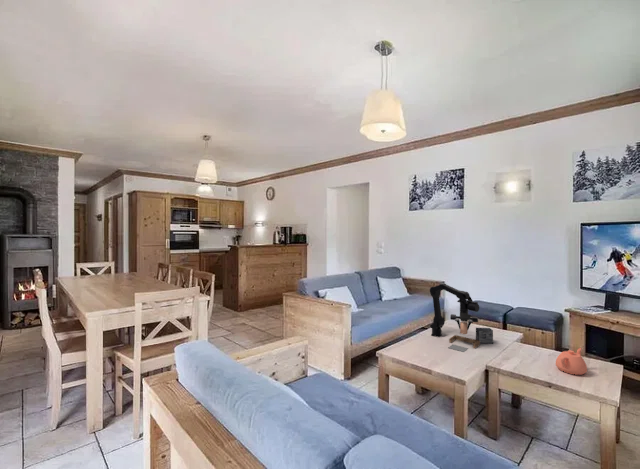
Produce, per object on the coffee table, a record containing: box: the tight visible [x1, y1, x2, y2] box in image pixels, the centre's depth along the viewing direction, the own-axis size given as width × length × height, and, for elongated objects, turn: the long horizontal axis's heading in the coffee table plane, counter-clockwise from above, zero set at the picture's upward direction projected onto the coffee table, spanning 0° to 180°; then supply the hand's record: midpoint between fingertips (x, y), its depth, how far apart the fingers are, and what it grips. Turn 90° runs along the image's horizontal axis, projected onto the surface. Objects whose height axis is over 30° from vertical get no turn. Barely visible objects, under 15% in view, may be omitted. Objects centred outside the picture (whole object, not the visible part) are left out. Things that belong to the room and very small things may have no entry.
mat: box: [448, 344, 469, 353], centre depth 232 cm, size 11×9×1 cm
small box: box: [475, 327, 494, 345], centre depth 244 cm, size 11×6×10 cm, turn 84°
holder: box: [448, 334, 481, 349], centre depth 241 cm, size 18×11×3 cm, turn 47°
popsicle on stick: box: [459, 321, 468, 335], centre depth 241 cm, size 5×8×8 cm, turn 156°
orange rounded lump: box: [555, 347, 588, 376], centre depth 195 cm, size 22×15×12 cm
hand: (463, 329), depth 240 cm, fingers closed on popsicle on stick, 5 cm apart
